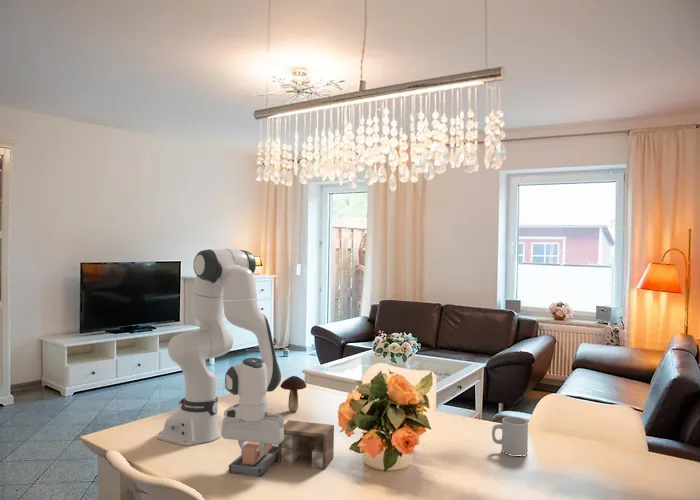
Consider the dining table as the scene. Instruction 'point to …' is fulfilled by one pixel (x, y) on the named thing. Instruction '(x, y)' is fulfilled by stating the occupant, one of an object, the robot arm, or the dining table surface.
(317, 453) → the shelf
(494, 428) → the mug
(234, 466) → the tray
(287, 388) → the decorative mushroom
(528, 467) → the dining table surface
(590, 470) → the dining table surface
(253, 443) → the block
